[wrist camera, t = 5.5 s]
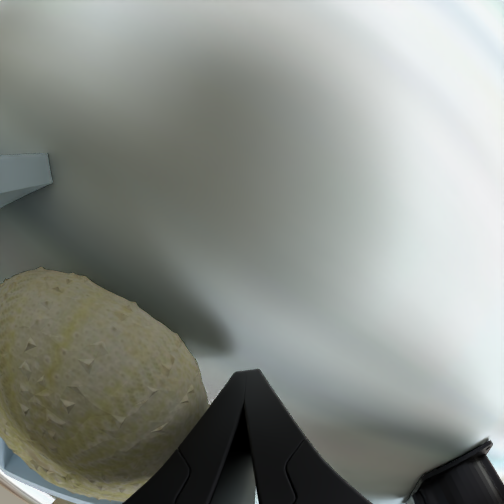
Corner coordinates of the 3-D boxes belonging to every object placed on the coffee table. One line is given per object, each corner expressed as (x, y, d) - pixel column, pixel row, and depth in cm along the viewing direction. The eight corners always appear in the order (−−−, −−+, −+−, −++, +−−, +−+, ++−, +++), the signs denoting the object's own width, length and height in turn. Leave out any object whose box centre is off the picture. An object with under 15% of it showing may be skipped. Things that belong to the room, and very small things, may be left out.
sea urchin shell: (-41, 344, 7) (-121, 385, 1) (74, 246, 12) (98, 182, 6) (90, 481, 9) (144, 591, 3) (186, 389, 14) (298, 441, 8)
